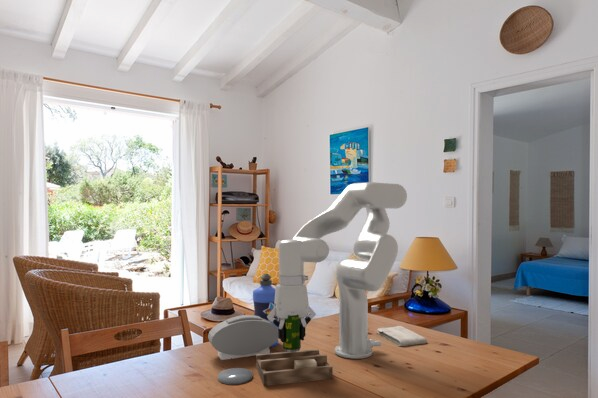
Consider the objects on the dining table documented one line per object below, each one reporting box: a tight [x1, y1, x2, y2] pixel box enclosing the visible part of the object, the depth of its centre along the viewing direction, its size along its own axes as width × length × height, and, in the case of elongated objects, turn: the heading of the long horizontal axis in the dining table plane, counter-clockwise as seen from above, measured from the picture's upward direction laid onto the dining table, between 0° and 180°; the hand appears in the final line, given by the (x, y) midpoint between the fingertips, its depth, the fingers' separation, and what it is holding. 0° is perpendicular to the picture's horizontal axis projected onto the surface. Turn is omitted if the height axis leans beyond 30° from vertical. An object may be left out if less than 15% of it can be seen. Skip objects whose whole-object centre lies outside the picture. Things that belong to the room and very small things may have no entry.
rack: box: [255, 348, 333, 387], centre depth 129 cm, size 20×14×5 cm
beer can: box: [282, 312, 302, 352], centre depth 132 cm, size 5×5×12 cm
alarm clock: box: [207, 314, 279, 361], centre depth 145 cm, size 23×6×13 cm, turn 113°
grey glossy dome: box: [217, 367, 254, 385], centre depth 126 cm, size 10×10×1 cm
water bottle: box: [252, 273, 279, 349], centre depth 157 cm, size 9×9×25 cm
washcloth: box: [376, 325, 427, 347], centre depth 163 cm, size 12×18×3 cm, turn 20°
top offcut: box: [294, 359, 317, 369], centre depth 126 cm, size 6×3×2 cm, turn 103°
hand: (291, 339), depth 132 cm, fingers closed on beer can, 5 cm apart
